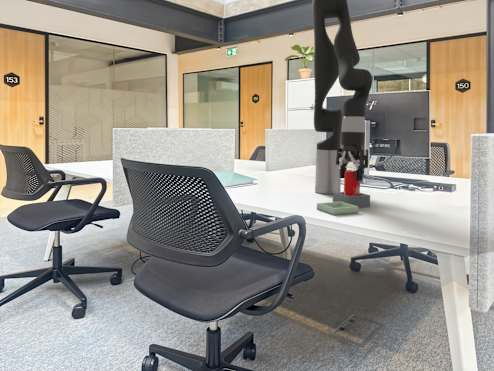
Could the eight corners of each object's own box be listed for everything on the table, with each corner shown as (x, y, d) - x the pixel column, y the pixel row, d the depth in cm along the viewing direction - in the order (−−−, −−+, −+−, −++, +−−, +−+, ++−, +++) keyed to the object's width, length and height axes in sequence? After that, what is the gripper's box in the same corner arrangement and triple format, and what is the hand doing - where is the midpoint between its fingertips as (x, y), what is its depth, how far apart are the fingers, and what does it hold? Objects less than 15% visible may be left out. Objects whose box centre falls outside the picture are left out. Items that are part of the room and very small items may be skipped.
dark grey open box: (353, 202, 145) (353, 191, 144) (369, 207, 137) (370, 195, 137) (332, 204, 142) (333, 192, 141) (348, 208, 134) (349, 196, 133)
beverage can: (349, 203, 143) (351, 169, 141) (362, 205, 139) (363, 170, 137) (339, 205, 140) (341, 170, 138) (352, 207, 136) (354, 171, 134)
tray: (340, 207, 136) (340, 201, 136) (358, 212, 128) (358, 206, 127) (316, 209, 132) (316, 203, 132) (333, 215, 124) (333, 208, 124)
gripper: (376, 131, 130) (373, 181, 133) (349, 130, 144) (346, 177, 146) (357, 130, 128) (354, 182, 130) (331, 130, 141) (329, 177, 143)
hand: (350, 179), depth 138 cm, fingers open, 8 cm apart
